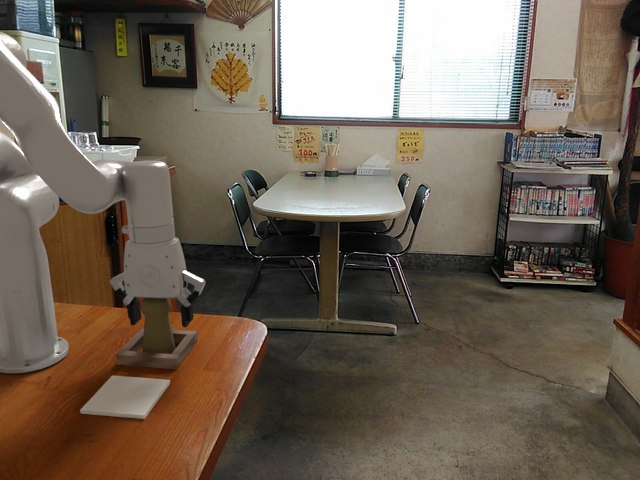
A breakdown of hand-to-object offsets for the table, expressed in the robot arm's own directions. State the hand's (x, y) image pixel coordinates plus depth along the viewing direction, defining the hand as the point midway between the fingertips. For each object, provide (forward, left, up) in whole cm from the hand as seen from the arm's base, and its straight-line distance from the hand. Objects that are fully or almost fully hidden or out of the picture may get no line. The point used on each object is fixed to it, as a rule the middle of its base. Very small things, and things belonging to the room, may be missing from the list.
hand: (161, 323), depth 96 cm
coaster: (0, -15, -6) cm, 16 cm away
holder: (-1, 0, -6) cm, 6 cm away
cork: (-1, 0, -6) cm, 6 cm away
